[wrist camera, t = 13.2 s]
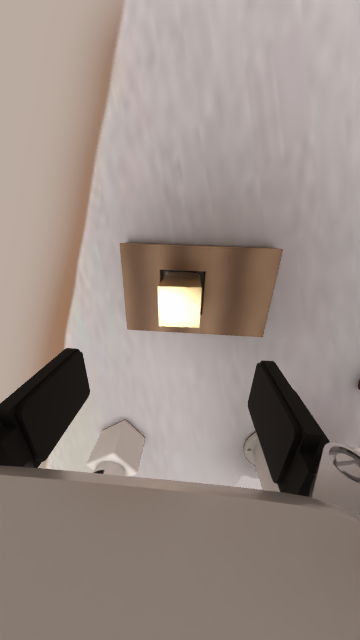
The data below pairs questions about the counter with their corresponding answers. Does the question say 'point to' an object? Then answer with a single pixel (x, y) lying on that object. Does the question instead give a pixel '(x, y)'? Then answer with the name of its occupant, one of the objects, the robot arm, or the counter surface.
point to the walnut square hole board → (218, 287)
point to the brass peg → (179, 300)
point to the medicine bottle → (117, 451)
